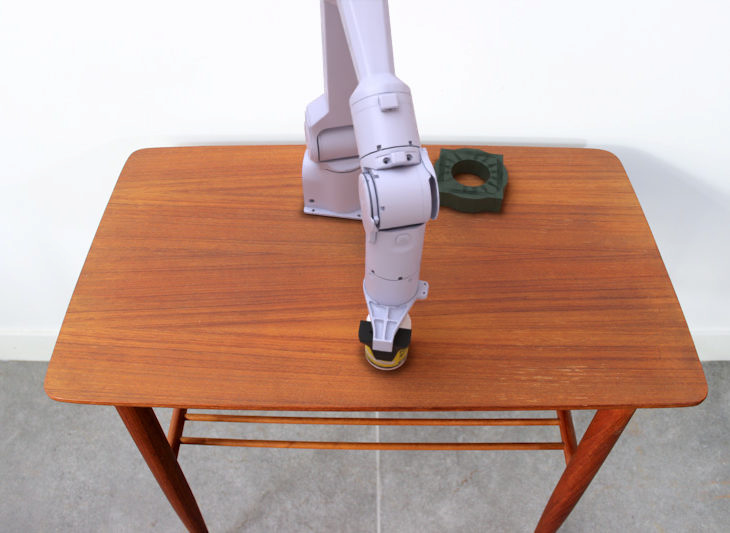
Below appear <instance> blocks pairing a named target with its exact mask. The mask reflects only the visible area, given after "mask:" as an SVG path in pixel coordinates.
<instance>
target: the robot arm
mask: <svg viewBox="0 0 730 533" xmlns="http://www.w3.org/2000/svg"><path fill="white" fill-rule="evenodd" d="M389 6H390V5H389V0H319V10H320V14H319V15H320V29H321V30H320V33H321V51H322V52H321V53H322V73H323V74H322V75H323V76H322V77H323V93H322V94H321V95H320V96H318V97H317V98H315V99H314V100H312V101H311V102H310V103H308V104H307V105H306V106H305V111H304V122H303V127H304V128H303V129H304V138H305V144H306V149H305V152H304V154H303V160H302V166H301V183H302V184H301V185H302V193H303V204H304V207H303V212H304V214H308V215H315V216H316V215H317V216H325V217H334V218H340V219H341V218H342V219H350V220H360V221H362V225H363V228H364V231H365V253H364V254H365V255H364V257H365V258H364V259H365V260H364V278H363V281H362V290H363V295H364V299H365V303H366V307H367V312H368V314H369V316H370V320H371V321H366V320H363V319H360V320H359V326H358V331H357V333H358V334H357V336H358V340H359V342H360V343H361V344H364V346H365V345H367V346H368V347H369V348H370V349H371V351H372V354H373V356H374V358H375V359H376V360H382V361H390V362H391V361H393V360H394V358H395V357H396V355H397V353H398V352H399V351H400V350H402V349H406V348H408V349H409V346H410V345H411V342H412V334H413V333H412V332H413V329H412V328H411V329H406V328H399V327H400V325H401V324H402V322H403V320H404V319H405V317H406V315H407V314H409V312H410V310H411V309H412V307H413V306H414V304H415V302H416V301H417V300H426V299H427V298H428V295H429V282H427V281H426V280H421V279H420V274H421V265H422V256H423V250H424V249H423V248H424V241H425V233H426V225H427V223H428V222H429V221H430V219H431V220H432V221H435V220H437V218H438V217H439V212H440V206H439V190H438V184H437V178H436V174H435V171H434V164H432V161H431V159H430V157H429V153H428V149H427V147H422V145H421V139H420V134H419V128H418V123H417V117H416V111H415V106H414V101H413V100H414V99H413V95H412V90H411V88H410V86H409V85H408V84H406V83H405V82H404V81H403V80H402V79H401V78H399V77H398V76H397V75H396V68H395V59H394V49H393V48H394V47H393V37H392V27H391V20H390V19H391V16H390V7H389Z"/></svg>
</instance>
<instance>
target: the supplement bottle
mask: <svg viewBox="0 0 730 533" xmlns="http://www.w3.org/2000/svg"><path fill="white" fill-rule="evenodd" d="M365 321H371V320H370V316H369V313H368V315H367V316H366V320H365ZM399 328H406V329H412V320H411V316H410V314H409V313H408V314H407V315H406V317H405V319H404V320H403V322H402V324H401V325H400V327H399ZM408 351H409V347H408V348H406V349H402V350H400V351H399V352H398V353H397V355H396V357H395V358H394V360H393V361H391V362H390V361H382V360H376V359H375V358H374V356H373V354H372V351H371V349H370V348H369V347H368V346H367V345H365V344H364V354H365V358H366V361H368V363H369V364H370V365H371V366H372V367H374V368H376V369H378V370H381V371H392V370H395V369H396V370H397V369H398V368H399V367H401V366H402V365H403V364H404V363H405V361H406V359H407V357H408Z"/></svg>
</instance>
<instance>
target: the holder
mask: <svg viewBox="0 0 730 533" xmlns="http://www.w3.org/2000/svg"><path fill="white" fill-rule="evenodd" d="M433 168H434V171H435V174H436V178H437V184H438V190H439V207H447V208H451V209H453V210H455V211H458V212H463V213H471V214H476V213H481V212H491V213H500V212H501V208H502V204H503V200H504V196H505V194H506V190H507V185H508V182H509V175H508V174H509V171H508V169H507V168H506V165H505V164H504V154H500V153H493V152H492V153H491V152H487V151H484V150H482V149H479V148H471V147H461V148H456V149H455V148H453V149H451V148H444V147H443V148H442V147H441V148H440V150H439V158H438V159H437V160H436V161H435V162H434V164H433ZM461 174H471V175H475V176H477V177H479V178H480V179H482V181H484V183H482V184H480V185H475V186H474V185H473V186H472V185H465V184H464V183H461V182H458V180H456V179H455V177H456V176H457V175H461Z"/></svg>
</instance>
